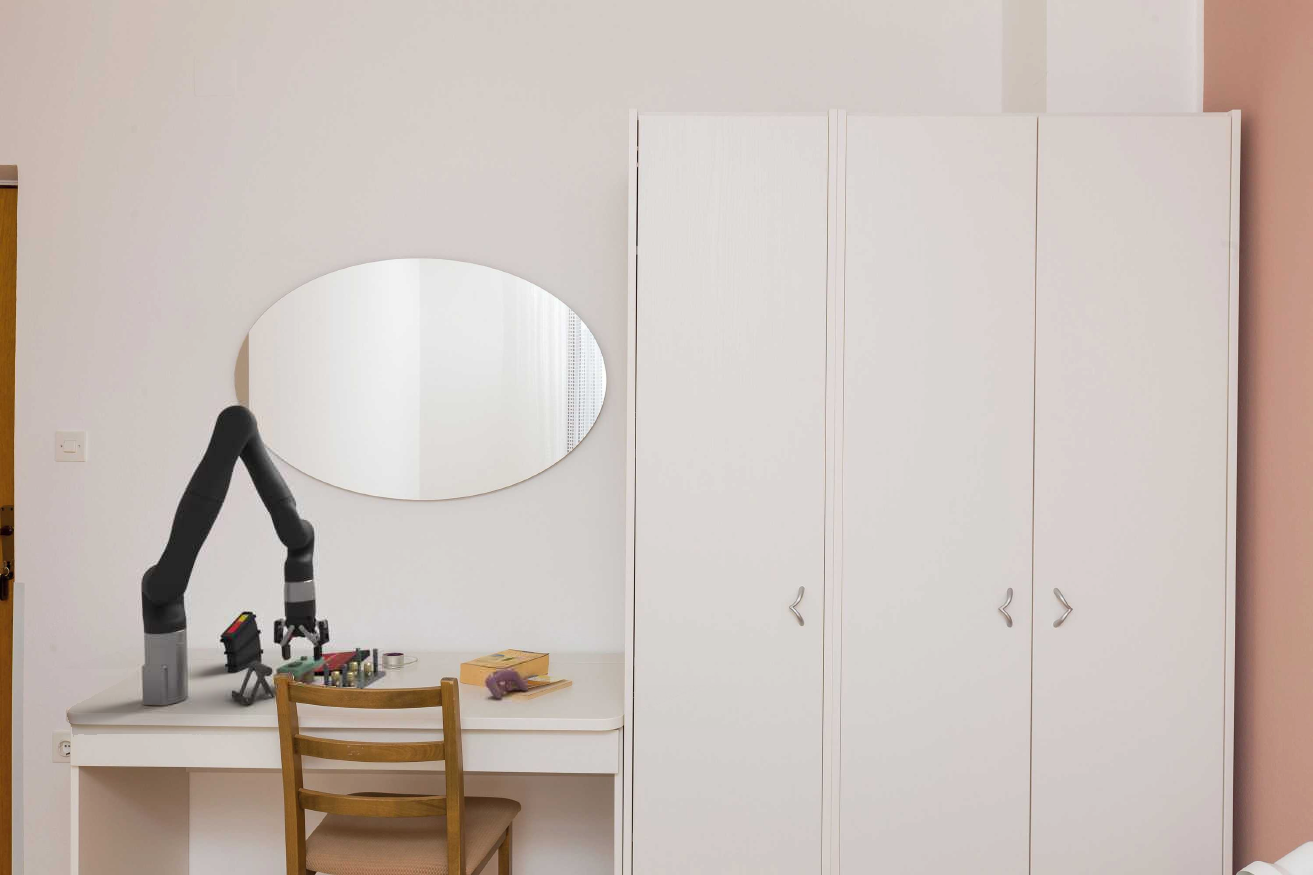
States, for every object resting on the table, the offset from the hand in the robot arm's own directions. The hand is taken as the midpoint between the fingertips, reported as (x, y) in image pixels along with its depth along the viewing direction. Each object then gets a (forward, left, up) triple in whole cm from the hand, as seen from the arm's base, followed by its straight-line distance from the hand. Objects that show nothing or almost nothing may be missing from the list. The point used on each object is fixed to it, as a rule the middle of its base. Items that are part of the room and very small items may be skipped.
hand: (302, 659), depth 237 cm
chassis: (+2, -12, -6) cm, 14 cm away
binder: (+17, +3, -7) cm, 19 cm away
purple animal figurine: (0, -55, -7) cm, 55 cm away
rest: (-1, 0, -6) cm, 6 cm away
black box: (+11, +26, -6) cm, 29 cm away
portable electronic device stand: (-14, +5, -7) cm, 16 cm away
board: (-1, 0, -2) cm, 2 cm away
